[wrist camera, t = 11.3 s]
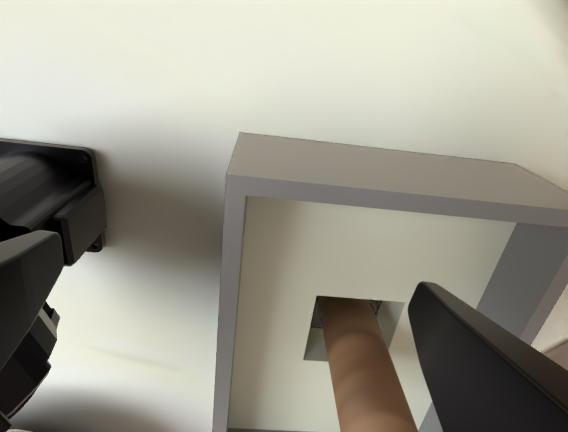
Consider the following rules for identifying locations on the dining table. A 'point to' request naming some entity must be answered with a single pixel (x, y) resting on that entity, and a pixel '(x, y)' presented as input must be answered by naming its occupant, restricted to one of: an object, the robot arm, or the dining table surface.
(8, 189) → the robot arm
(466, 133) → the dining table surface
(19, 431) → the bowl
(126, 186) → the dining table surface
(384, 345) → the peg
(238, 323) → the box
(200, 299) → the dining table surface
